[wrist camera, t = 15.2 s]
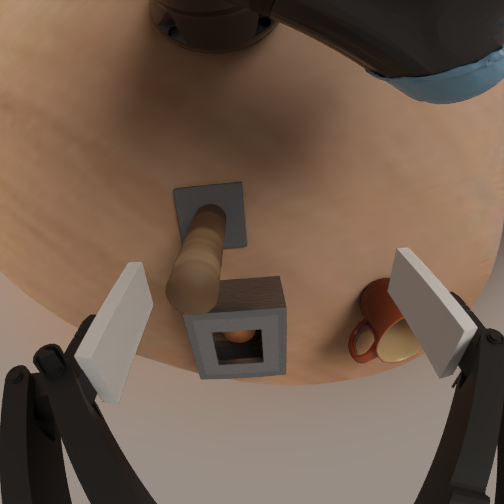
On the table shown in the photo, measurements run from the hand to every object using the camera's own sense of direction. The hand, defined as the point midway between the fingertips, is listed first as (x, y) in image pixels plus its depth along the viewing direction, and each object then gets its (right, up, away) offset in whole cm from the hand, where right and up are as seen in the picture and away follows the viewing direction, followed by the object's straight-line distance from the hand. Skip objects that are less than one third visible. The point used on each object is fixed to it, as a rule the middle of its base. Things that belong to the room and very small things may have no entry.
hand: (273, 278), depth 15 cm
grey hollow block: (-3, -8, +28) cm, 29 cm away
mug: (+17, -6, +28) cm, 33 cm away
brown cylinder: (-6, +5, +20) cm, 22 cm away
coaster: (-6, +6, +21) cm, 23 cm away
